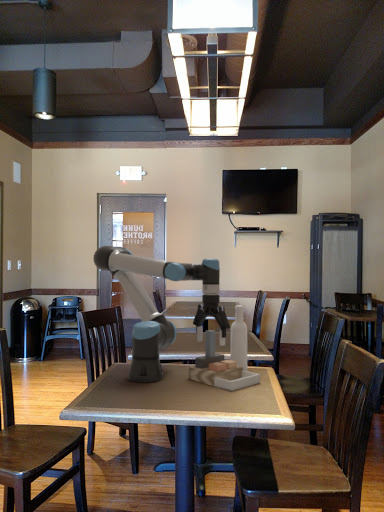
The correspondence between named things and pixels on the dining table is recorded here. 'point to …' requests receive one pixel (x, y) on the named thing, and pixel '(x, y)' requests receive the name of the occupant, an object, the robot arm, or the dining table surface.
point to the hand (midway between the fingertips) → (210, 343)
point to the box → (238, 381)
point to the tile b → (229, 364)
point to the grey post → (209, 352)
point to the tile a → (217, 366)
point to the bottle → (239, 339)
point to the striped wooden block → (214, 374)
